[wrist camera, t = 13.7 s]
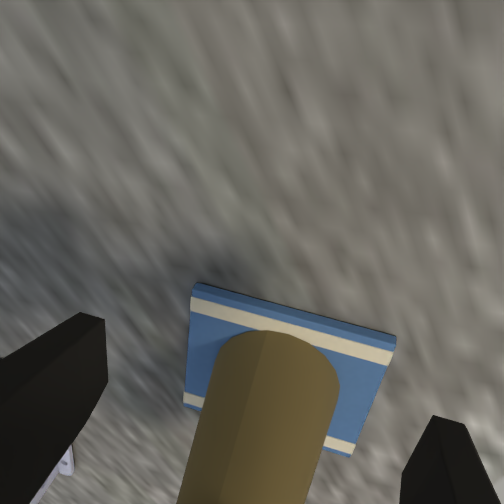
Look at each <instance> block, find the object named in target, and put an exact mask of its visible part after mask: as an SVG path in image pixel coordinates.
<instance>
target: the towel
mask: <svg viewBox="0 0 504 504" xmlns="http://www.w3.org/2000/svg"><path fill="white" fill-rule="evenodd" d="M190 311H191V312H190V326H189V339H188V352H187V366H186V379H185V391H184V397H183V402H184V406H185V407H189V408H192V409H195V410H198V411H201V410H202V407H203V403H204V399H205V396H206V392H207V388H208V385H209V381H210V377H211V373H212V370H213V366H214V362H215V359H216V357H217V355H218V352H219V350H220V348H221V347H222V346H223V345H224V344H225V343H226V342H227V341H228V340H229V339H231V338H232V337H234V336H237V335H240V334H242V333H245V332H248V331H261V330H270V331H275V332H281V333H286V334H290V335H292V336H294V337H297V338H299V339H301V340H303V341H306V342H308V343H310V344H311V345H312V346H313V347H315V348H316V349H317V350H318V351H320V352H321V353H322V354H324V355H325V356H326V358H327V359H328V360H329V362H330V363H331V365H332V366H333V367H334V369H335V370H336V373H337V377H338V380H339V384H340V390H339V396H338V401H337V405H336V408H335V411H334V414H333V417H332V420H331V423H330V426H329V429H328V432H327V435H326V438H325V442H324V445H323V448H322V449H323V450H326V451H330V452H333V453H336V454H339V455H342V456H346V457H350V456H351V455H352V453H353V450H354V448H355V445H356V441H357V439H358V437H359V434H360V432H361V429H362V427H363V424H364V422H365V420H366V417H367V415H368V412H369V410H370V407H371V405H372V403H373V400H374V398H375V395H376V393H377V390H378V388H379V386H380V383H381V381H382V378H383V376H384V373H385V371H386V369H387V366H388V365H389V363H390V361H391V358H392V356H393V353H394V349H395V347H396V336H393V335H389V334H385V333H382V332H378V331H374V330H371V329H367V328H363V327H360V326H356V325H352V324H349V323H345V322H341V321H337V320H334V319H330V318H326V317H323V316H319V315H315V314H312V313H308V312H304V311H301V310H297V309H293V308H290V307H286V306H282V305H278V304H275V303H271V302H267V301H264V300H260V299H256V298H253V297H249V296H245V295H242V294H238V293H234V292H230V291H227V290H223V289H219V288H216V287H212V286H208V285H205V284H201V283H196V284H195V286H194V287H193V289H192V296H191V302H190Z"/></svg>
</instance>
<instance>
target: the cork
mask: <svg viewBox="0 0 504 504" xmlns="http://www.w3.org/2000/svg"><path fill="white" fill-rule="evenodd" d="M339 390H340V384H339V380H338V377H337V373H336V370H335V369H334V367H333V366H332V365H331V363H330V362H329V360H328V359H327V358H326V356H325V355H324V354H322V353H321V352H320V351H318V350H317V349H316V348H315V347H313V346H312V345H311V344H310V343H308V342H306V341H303V340H301V339H299V338H297V337H294V336H292V335H290V334H286V333H281V332H275V331H270V330H261V331H248V332H245V333H242V334H240V335H237V336H234V337H232V338H231V339H229V340H228V341H227V342H226V343H225V344H224V345H223V346H222V347H221V348H220V350H219V352H218V355H217V357H216V359H215V362H214V366H213V370H212V373H211V377H210V381H209V385H208V388H207V392H206V396H205V399H204V403H203V407H202V410H201V414H200V418H199V422H198V425H197V429H196V433H195V436H194V440H193V444H192V448H191V451H190V455H189V459H188V462H187V466H186V470H185V473H184V477H183V481H182V485H181V488H180V492H179V496H178V499H177V503H176V504H304V503H305V500H306V497H307V494H308V491H309V488H310V485H311V482H312V479H313V475H314V472H315V469H316V466H317V463H318V460H319V457H320V454H321V451H322V448H323V445H324V442H325V438H326V435H327V432H328V429H329V426H330V423H331V420H332V417H333V414H334V411H335V408H336V405H337V401H338V396H339Z"/></svg>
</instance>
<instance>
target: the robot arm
mask: <svg viewBox="0 0 504 504" xmlns="http://www.w3.org/2000/svg"><path fill="white" fill-rule="evenodd" d="M107 383H108V367H107V350H106V333H105V319H102V318H99V317H95V316H92V315H89V314H85V313H82V312H79V313H78V314H76V315H74V316H73V317H71V318H69V319H67V320H66V321H64V322H62V323H61V324H59V325H57V326H56V327H54V328H53V329H51V330H49V331H48V332H46V333H44V334H43V335H41V336H40V337H38V338H36V339H35V340H33V341H31V342H30V343H28V344H26V345H25V346H23V347H21V348H20V349H18V350H17V351H15V352H13V353H11V354H10V355H8V356H6V357H5V358H3V359H1V360H0V504H38V502H39V501H40V499H41V498H42V496H43V495H44V493H45V492H46V490H47V489H48V487H49V486H50V484H51V483H52V481H53V480H54V478H55V477H56V475H57V474H58V473H61V474H64V475H67V476H70V475H72V474H73V472H74V471H75V467H74V459H73V452H72V445H71V444H72V443H73V441H74V440H75V438H76V437H77V435H78V434H79V432H80V431H81V430H82V428H83V427H84V425H85V424H86V422H87V420H88V419H89V417H90V415H91V413H92V411H93V410H94V408H95V406H96V404H97V402H98V400H99V398H100V397H101V395H102V393H103V391H104V389H105V387H106V385H107ZM399 504H501V503H500V500H499V499H498V496H497V494H496V492H495V490H494V488H493V485H492V483H491V481H490V479H489V477H488V475H487V473H486V470H485V468H484V466H483V464H482V461H481V459H480V457H479V455H478V452H477V450H476V448H475V446H474V443H473V441H472V439H471V437H470V434H469V432H468V430H467V428H466V426H465V425H464V424H462V423H459V422H455V421H452V420H448V419H445V418H442V417H438V416H435V415H433V416H432V418H431V419H430V421H429V423H428V425H427V427H426V429H425V431H424V433H423V434H422V436H421V438H420V440H419V442H418V444H417V446H416V448H415V450H414V451H413V453H412V455H411V457H410V459H409V461H408V463H407V465H406V466H405V468H404V470H403V472H402V478H401V490H400V502H399Z"/></svg>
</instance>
